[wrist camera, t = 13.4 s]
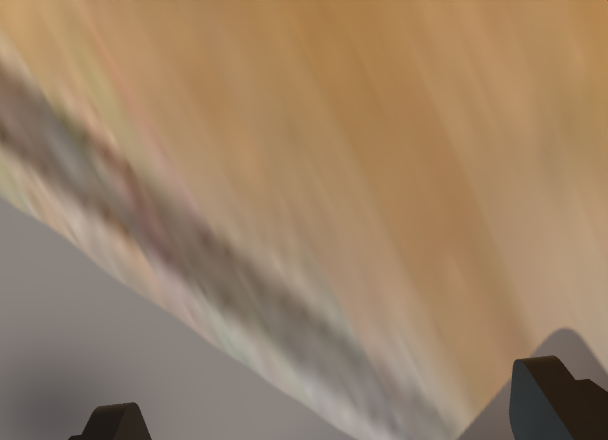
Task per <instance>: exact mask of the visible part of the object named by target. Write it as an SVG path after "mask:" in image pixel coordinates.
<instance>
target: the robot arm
mask: <svg viewBox="0 0 608 440" xmlns="http://www.w3.org/2000/svg"><path fill="white" fill-rule="evenodd" d="M509 417H510V424H511V428H512V432H513V435H514V438H515V440H608V392H607V391H605V390H604V389H603V388H601V387H600V386H598V385H597V384H595V383H594V382H592V381H591V380H590V379H585V380H575V379H574V377H573V376H572V375H571V374H570V372H569V371H568V370H567V368H566V367H565V366H564V364H563V363H562V362H561V361H560V359H558V358H557V357H556V356H543V357H534V358H526V359H517V360H515V362H514V364H513V372H512V383H511V395H510V407H509ZM68 440H152V439H151V437H150V434H149V432H148V429H147V427H146V424H145V422H144V419H143V416H142V414H141V411H140V409H139V406H138V405H137V404H136V403H134V402H132V403H123V404H115V405H106V406H99V407H97V408H96V409H95V410H94V411H93V413H92V415H91V417H90V419H89V421H88V423H87V425H86V427H85V429H84V431H83V433H82V435H76V436H71V437H70V438H69V439H68Z"/></svg>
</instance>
